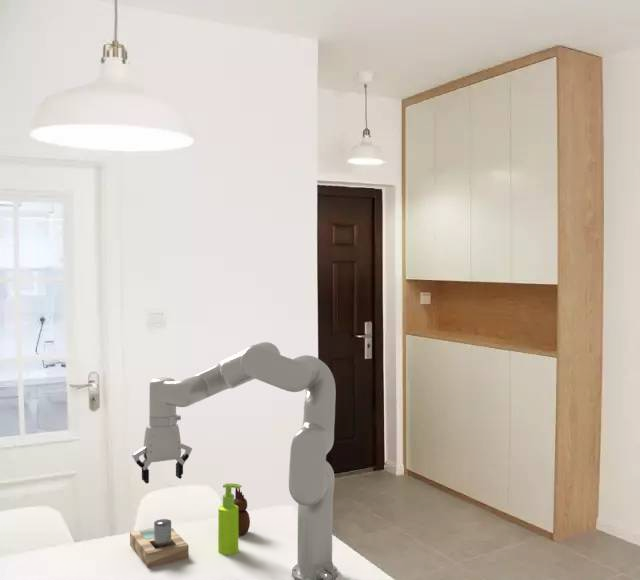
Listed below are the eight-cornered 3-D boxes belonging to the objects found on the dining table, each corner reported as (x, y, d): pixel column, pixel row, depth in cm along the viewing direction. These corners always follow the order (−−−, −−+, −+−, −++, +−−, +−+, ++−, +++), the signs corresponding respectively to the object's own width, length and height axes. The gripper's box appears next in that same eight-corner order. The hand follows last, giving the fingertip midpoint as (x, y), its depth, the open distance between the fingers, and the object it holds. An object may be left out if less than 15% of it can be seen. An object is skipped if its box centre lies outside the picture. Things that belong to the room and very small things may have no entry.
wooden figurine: (227, 531, 220) (227, 484, 219) (245, 528, 222) (245, 482, 222) (234, 539, 214) (234, 491, 213) (252, 536, 216) (252, 488, 216)
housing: (188, 558, 199) (188, 544, 199) (147, 567, 193) (147, 553, 193) (168, 537, 214) (168, 524, 214) (130, 545, 208) (129, 531, 208)
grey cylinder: (173, 557, 199) (173, 523, 199) (157, 561, 197) (157, 526, 197) (168, 551, 203) (168, 518, 203) (152, 555, 201) (152, 520, 201)
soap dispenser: (238, 556, 201) (238, 488, 200) (215, 554, 202) (215, 486, 202) (244, 548, 207) (244, 482, 206) (222, 546, 208) (222, 480, 207)
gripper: (187, 415, 207) (186, 472, 207) (129, 421, 198) (129, 480, 199) (195, 420, 200) (195, 479, 201) (136, 426, 192) (136, 488, 192)
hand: (162, 479), depth 200 cm, fingers open, 9 cm apart
